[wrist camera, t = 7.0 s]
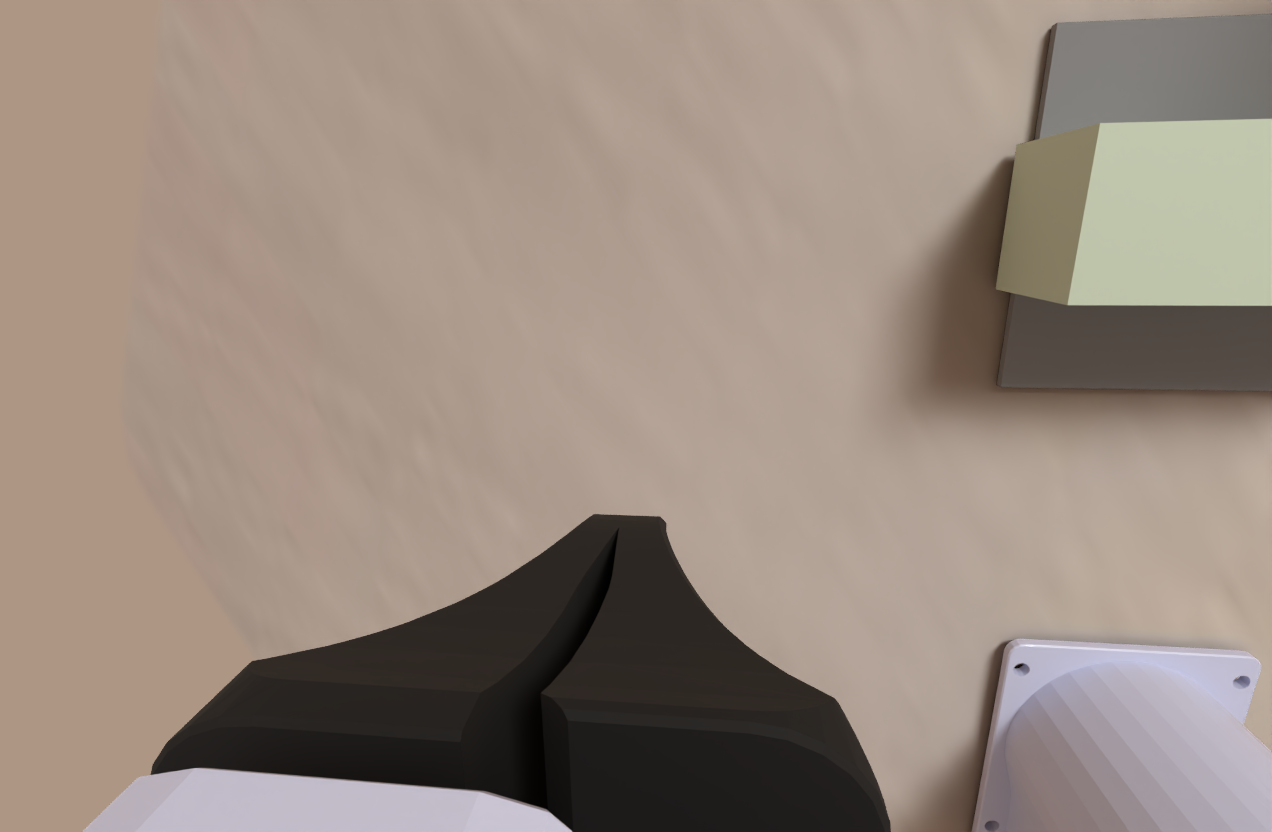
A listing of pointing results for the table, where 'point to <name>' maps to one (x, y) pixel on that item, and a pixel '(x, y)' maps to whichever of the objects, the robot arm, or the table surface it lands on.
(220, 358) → the table surface
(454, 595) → the table surface
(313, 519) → the table surface
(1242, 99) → the mat
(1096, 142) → the sage block
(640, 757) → the robot arm
